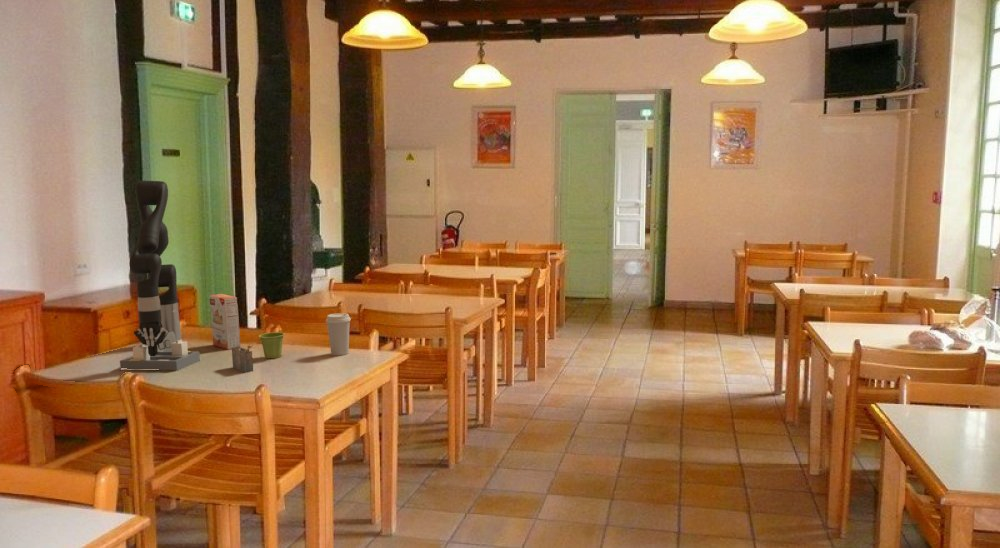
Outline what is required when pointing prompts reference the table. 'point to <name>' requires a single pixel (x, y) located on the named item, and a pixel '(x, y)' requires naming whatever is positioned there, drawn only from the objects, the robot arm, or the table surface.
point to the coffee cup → (338, 333)
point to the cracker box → (225, 321)
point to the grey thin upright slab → (242, 359)
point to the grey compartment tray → (162, 361)
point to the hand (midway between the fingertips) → (153, 355)
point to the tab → (141, 352)
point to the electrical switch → (166, 342)
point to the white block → (179, 347)
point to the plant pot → (272, 344)
